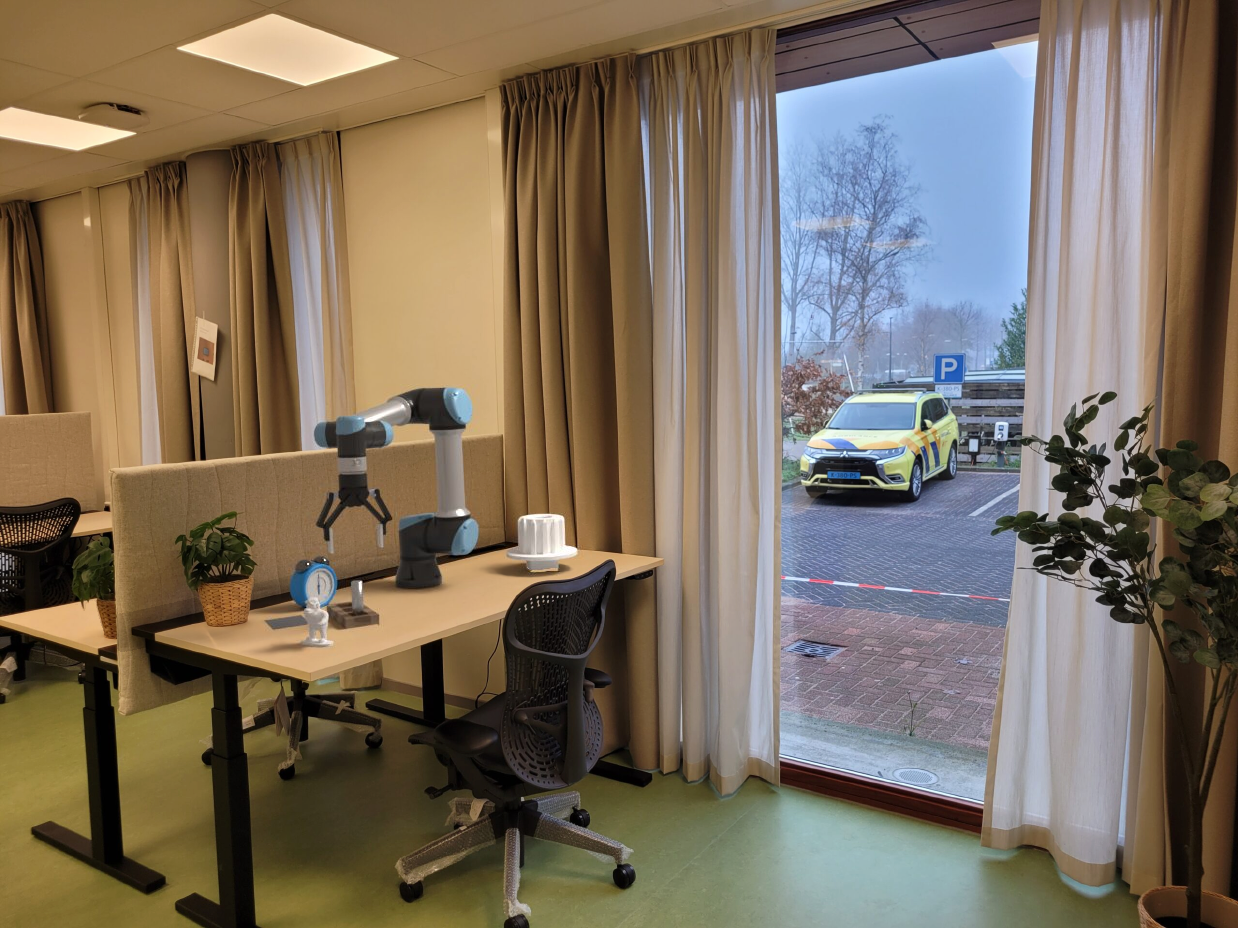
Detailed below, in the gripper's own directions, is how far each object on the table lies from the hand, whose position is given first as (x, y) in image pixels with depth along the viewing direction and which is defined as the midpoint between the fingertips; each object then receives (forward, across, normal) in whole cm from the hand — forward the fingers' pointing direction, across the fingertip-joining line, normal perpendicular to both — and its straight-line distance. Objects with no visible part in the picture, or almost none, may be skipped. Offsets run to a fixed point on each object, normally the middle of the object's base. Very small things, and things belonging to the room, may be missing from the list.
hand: (356, 549), depth 248 cm
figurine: (+21, -15, -13) cm, 29 cm away
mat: (+21, -16, +13) cm, 29 cm away
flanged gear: (+21, +76, +37) cm, 87 cm away
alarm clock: (+21, -5, +28) cm, 35 cm away
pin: (+21, 0, 0) cm, 21 cm away
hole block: (+21, 0, +6) cm, 21 cm away
